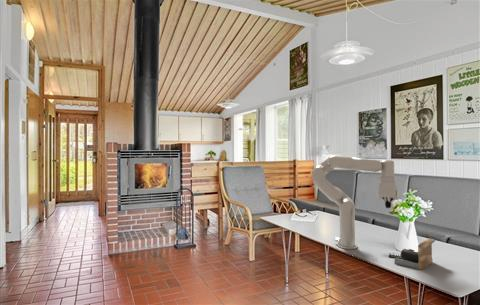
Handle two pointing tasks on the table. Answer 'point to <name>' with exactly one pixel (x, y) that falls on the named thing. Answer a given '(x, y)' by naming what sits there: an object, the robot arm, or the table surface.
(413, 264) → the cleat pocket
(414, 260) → the end cap
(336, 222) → the table surface
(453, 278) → the table surface
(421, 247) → the wall board
